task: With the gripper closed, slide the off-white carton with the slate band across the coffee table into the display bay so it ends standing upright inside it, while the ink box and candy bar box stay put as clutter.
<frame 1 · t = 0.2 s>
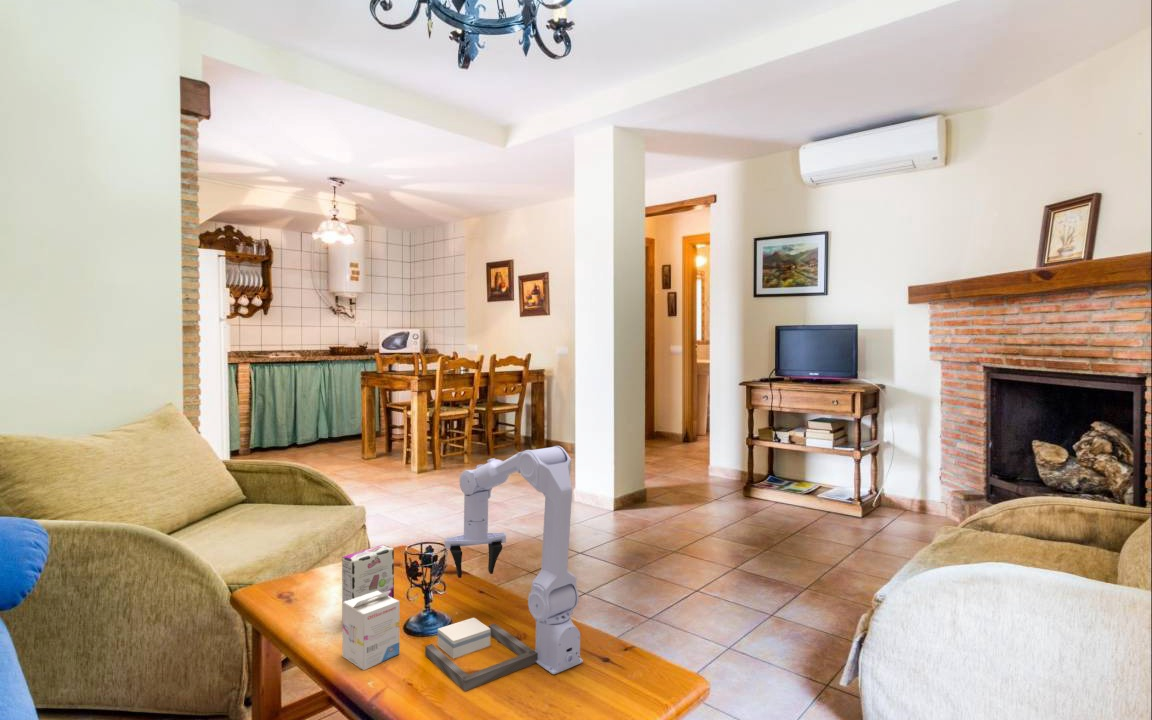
hand: (475, 574, 147), 10 cm above the table, tool pointing down, fingers open, 7 cm apart
ink box: (370, 656, 127), on the table
display bay: (483, 660, 126), on the table
candy bar box: (367, 621, 143), on the table
carton: (463, 646, 132), on the table
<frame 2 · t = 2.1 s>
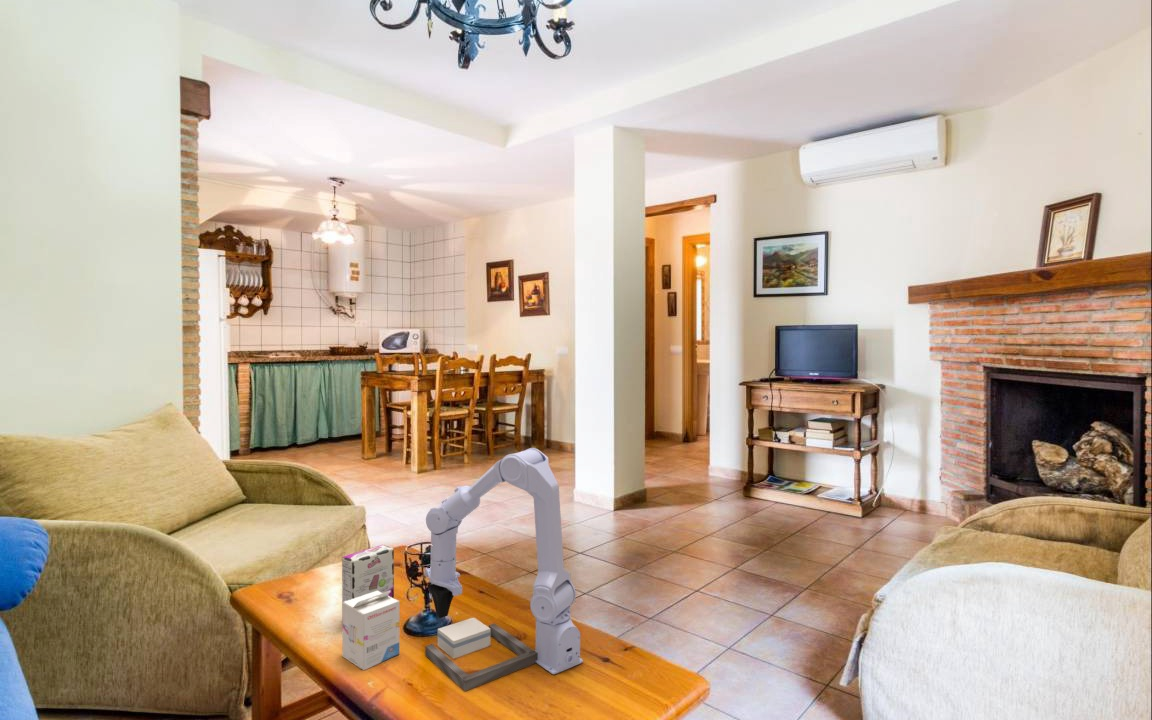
hand: (442, 616, 140), 3 cm above the table, tool pointing down, fingers closed
nothing on the table moved.
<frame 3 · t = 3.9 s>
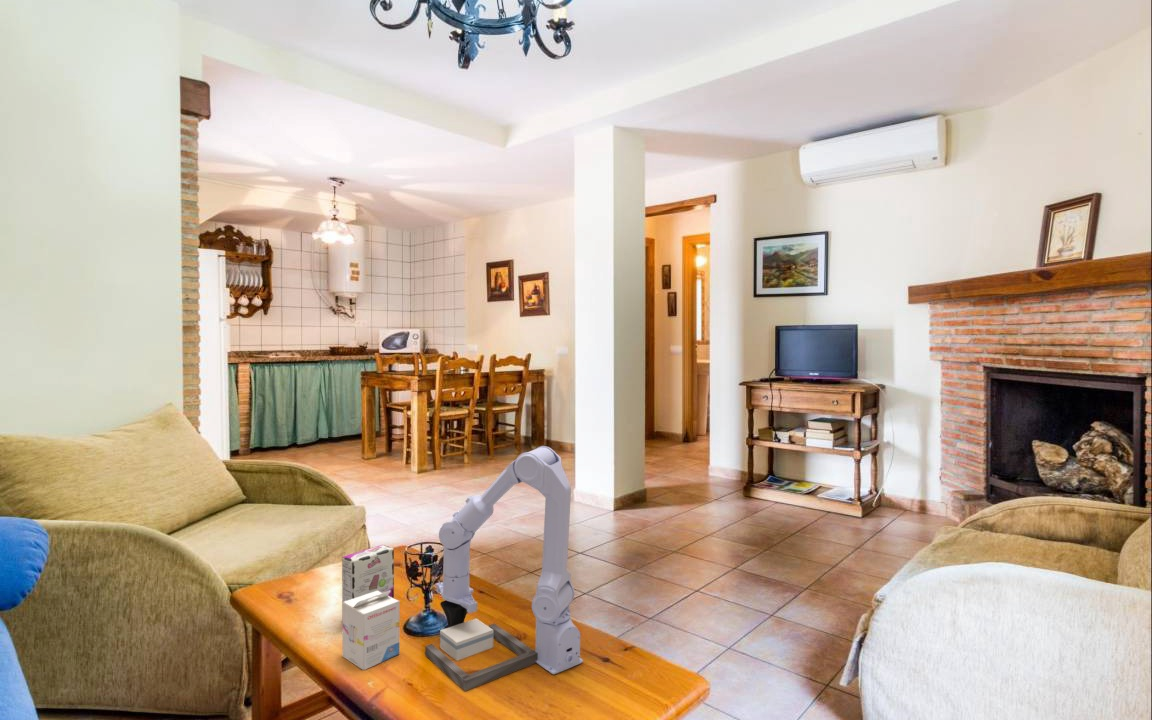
hand: (455, 633, 135), 1 cm above the table, tool pointing down, fingers closed
carton: (466, 648, 131), on the table, touching gripper
everything else where it was.
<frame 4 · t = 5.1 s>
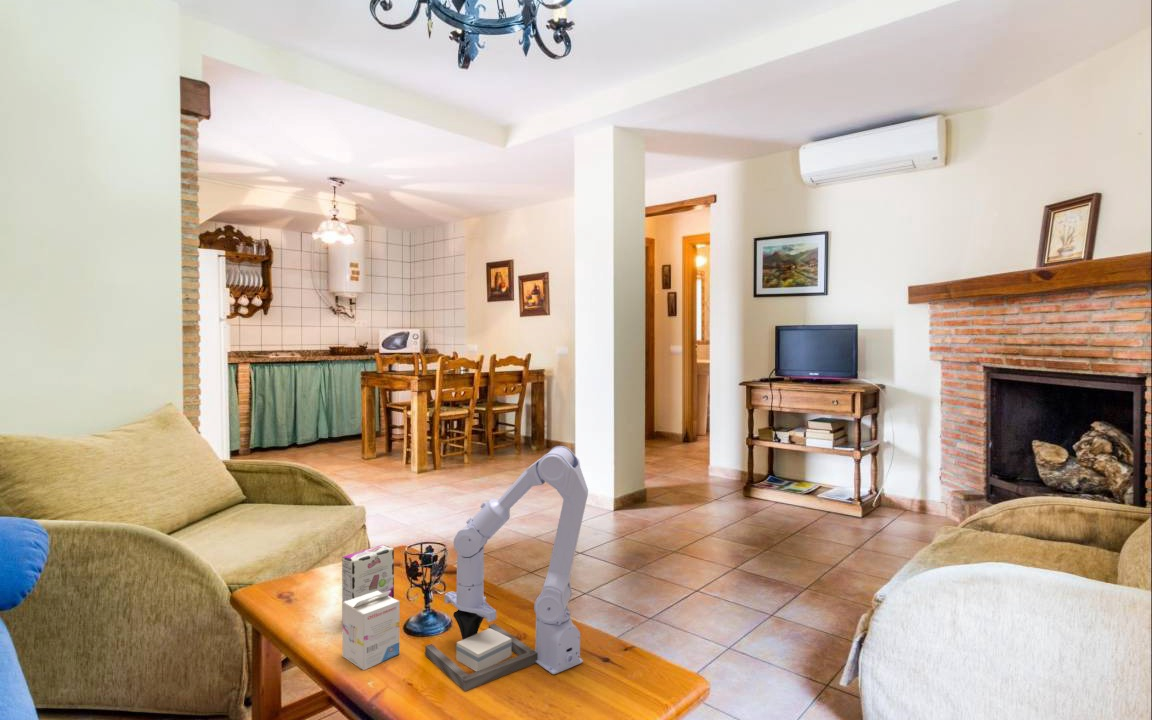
hand: (469, 644, 131), 1 cm above the table, tool pointing down, fingers closed
carton: (484, 659, 127), on the table, touching gripper
everything else where it was.
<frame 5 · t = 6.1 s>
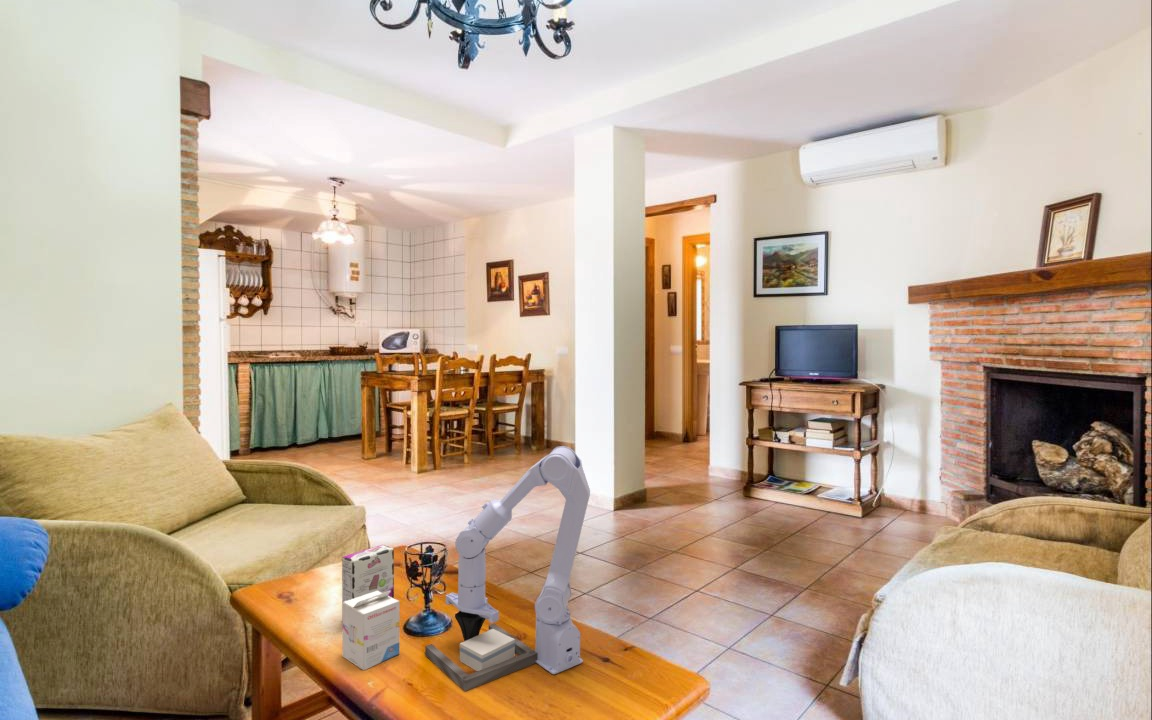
hand: (470, 645, 130), 1 cm above the table, tool pointing down, fingers closed
carton: (487, 660, 127), on the table
everything else where it was.
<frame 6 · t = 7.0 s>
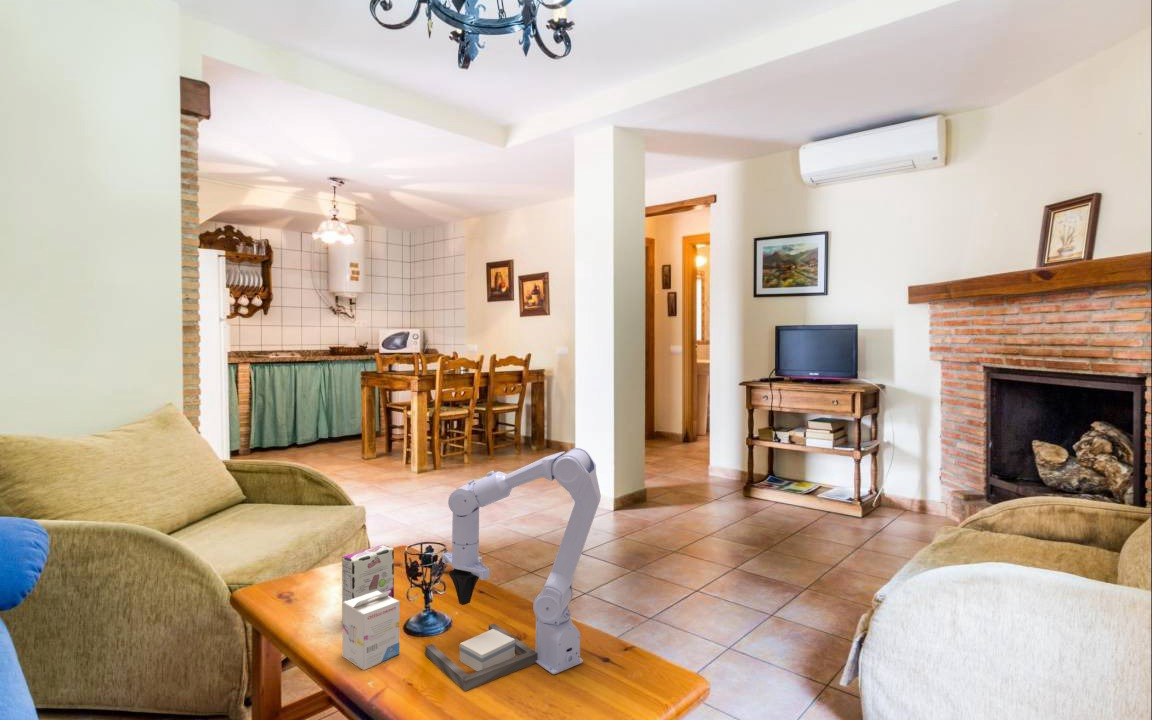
hand: (464, 603, 132), 9 cm above the table, tool pointing down, fingers closed
nothing on the table moved.
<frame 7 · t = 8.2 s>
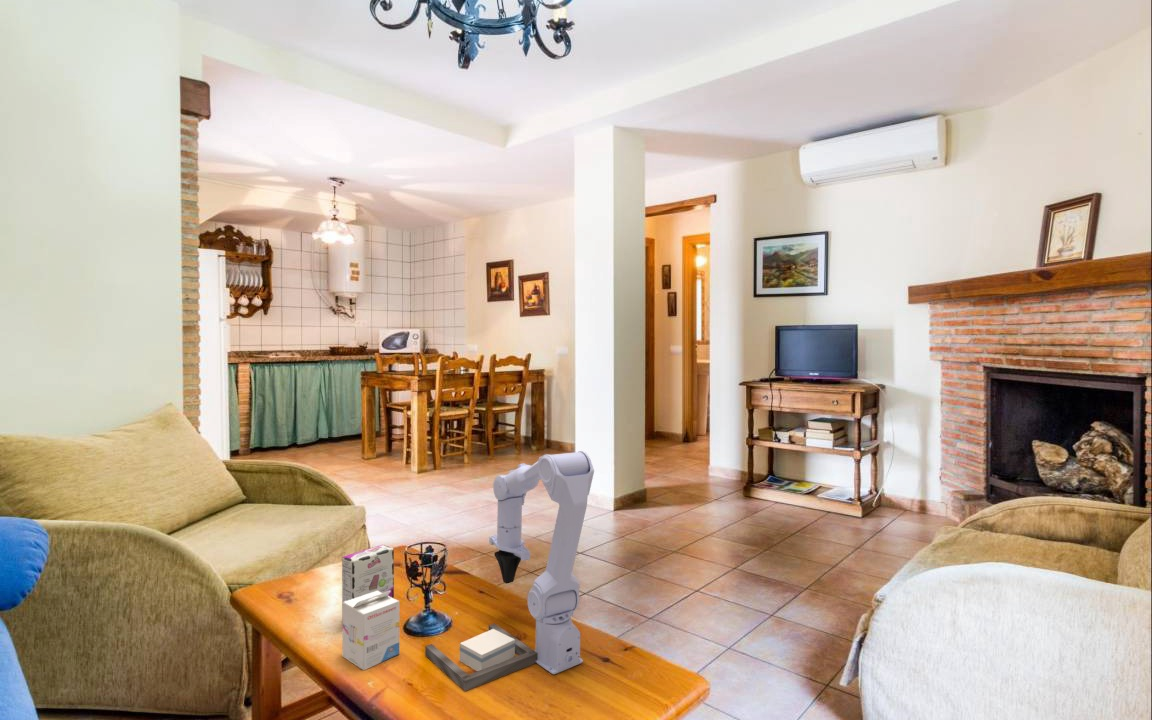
hand: (508, 581, 144), 9 cm above the table, tool pointing down, fingers closed
nothing on the table moved.
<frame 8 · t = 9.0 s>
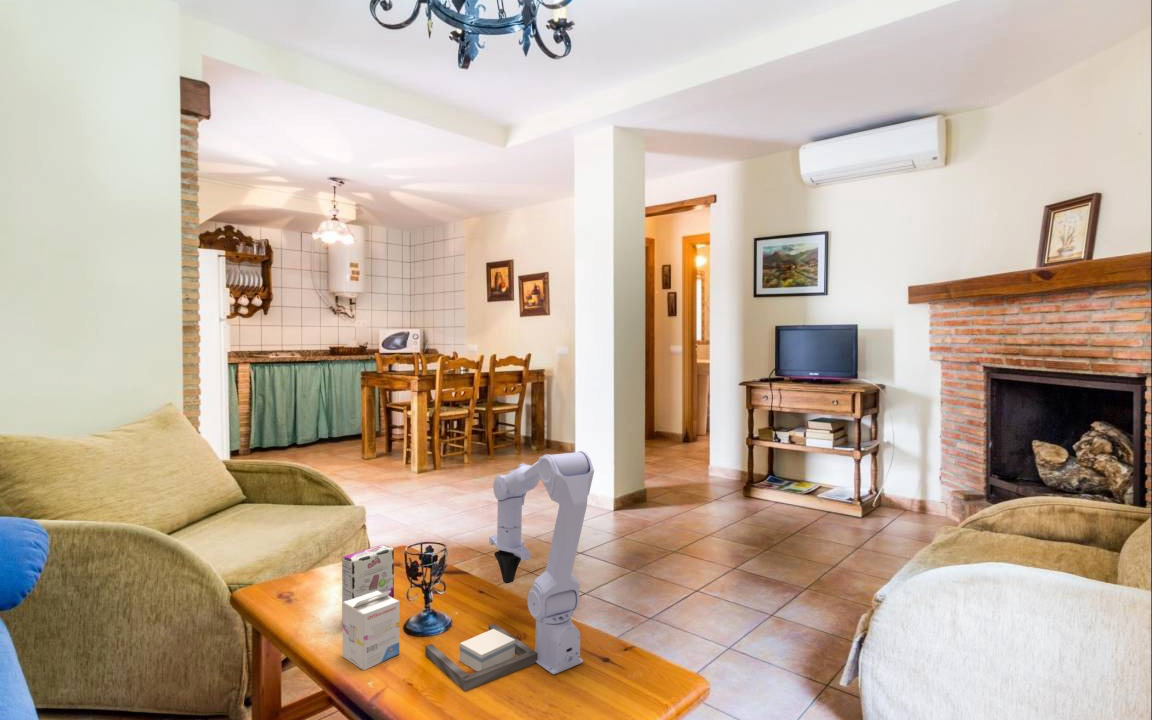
hand: (508, 581, 144), 9 cm above the table, tool pointing down, fingers closed
nothing on the table moved.
at the end: carton inside the target area on the display bay (1.2 cm from its centre), point 0.0 cm above the display bay's base; carton tilted 0°; carton moved 8.0 cm from its start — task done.
